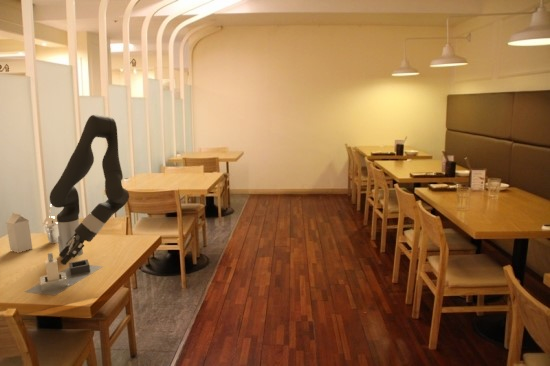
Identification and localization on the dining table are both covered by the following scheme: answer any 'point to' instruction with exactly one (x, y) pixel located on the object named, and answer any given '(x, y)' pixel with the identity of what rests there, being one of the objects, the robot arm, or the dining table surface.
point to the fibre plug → (52, 268)
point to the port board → (70, 281)
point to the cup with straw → (51, 227)
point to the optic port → (53, 282)
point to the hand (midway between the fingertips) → (61, 260)
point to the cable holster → (79, 267)
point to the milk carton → (19, 233)
